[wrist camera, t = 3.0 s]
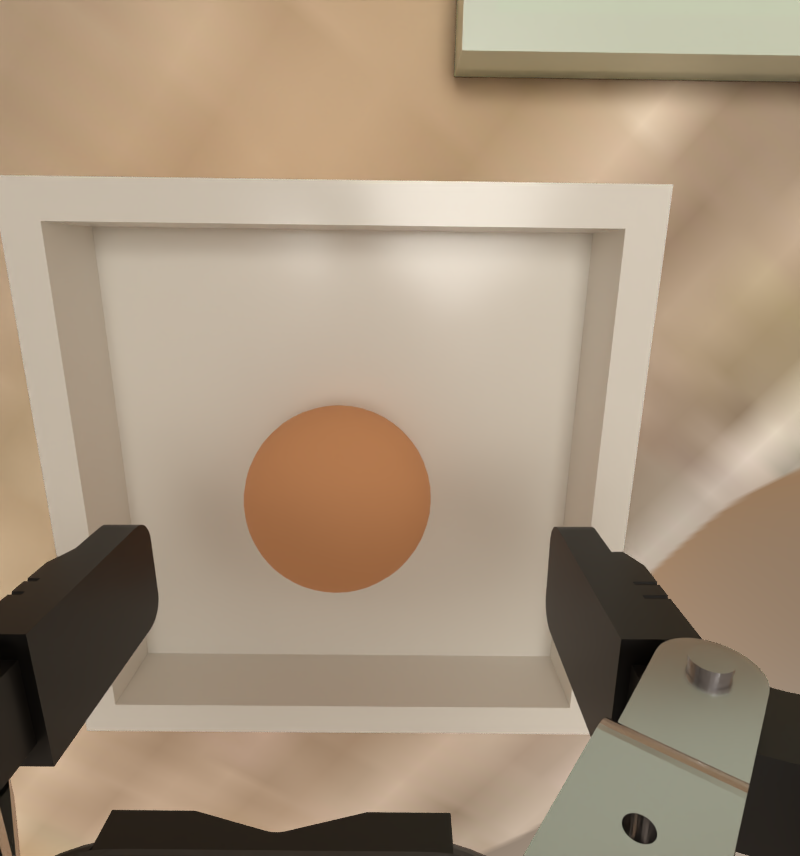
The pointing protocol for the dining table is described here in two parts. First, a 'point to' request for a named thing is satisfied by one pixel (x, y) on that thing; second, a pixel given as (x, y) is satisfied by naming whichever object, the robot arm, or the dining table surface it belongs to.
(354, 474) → the ball
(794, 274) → the dining table surface
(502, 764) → the dining table surface
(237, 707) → the cream square dish
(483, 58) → the tray
